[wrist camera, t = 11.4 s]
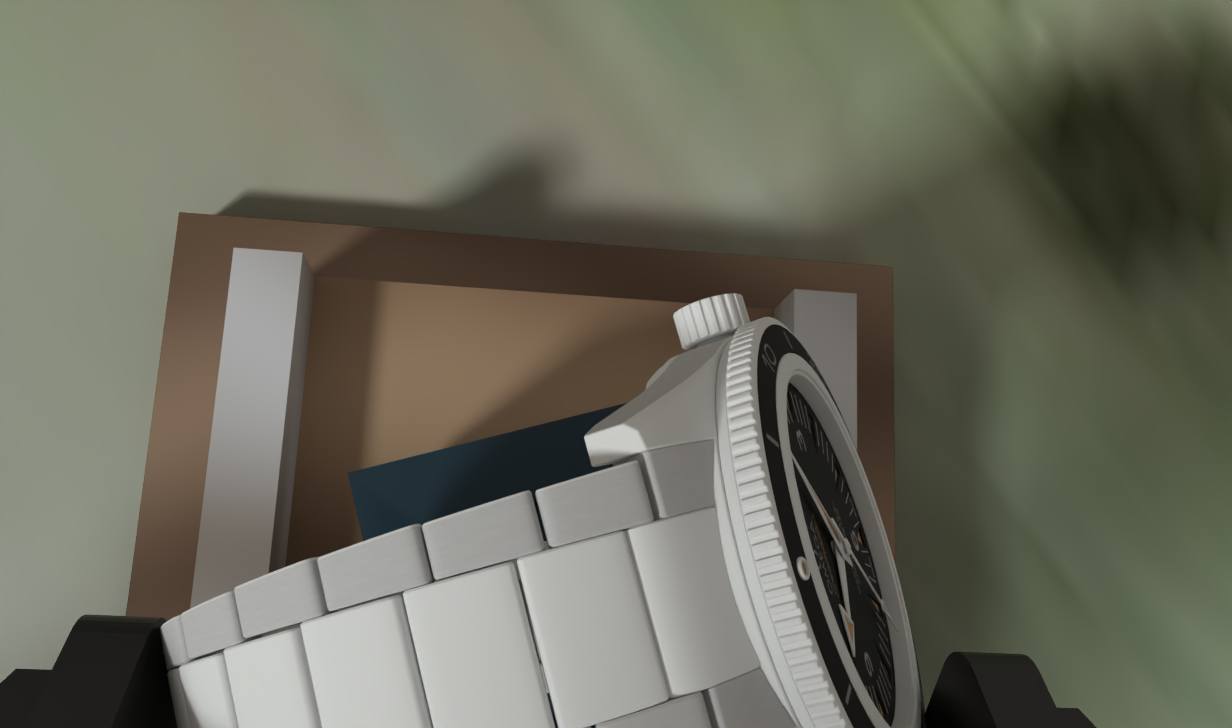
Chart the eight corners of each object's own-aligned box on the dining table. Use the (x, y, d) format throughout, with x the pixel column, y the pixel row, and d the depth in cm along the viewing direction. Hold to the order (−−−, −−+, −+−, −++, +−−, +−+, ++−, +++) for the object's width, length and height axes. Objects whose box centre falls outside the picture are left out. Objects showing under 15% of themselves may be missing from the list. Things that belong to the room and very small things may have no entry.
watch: (797, 708, 19) (1187, 837, 9) (336, 850, 18) (121, 1211, 7) (708, 401, 20) (958, 175, 10) (264, 514, 19) (-19, 397, 8)
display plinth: (879, 1007, 23) (995, 1127, 18) (93, 1002, 22) (-34, 1132, 16) (874, 281, 27) (971, 202, 21) (193, 229, 25) (114, 131, 20)
